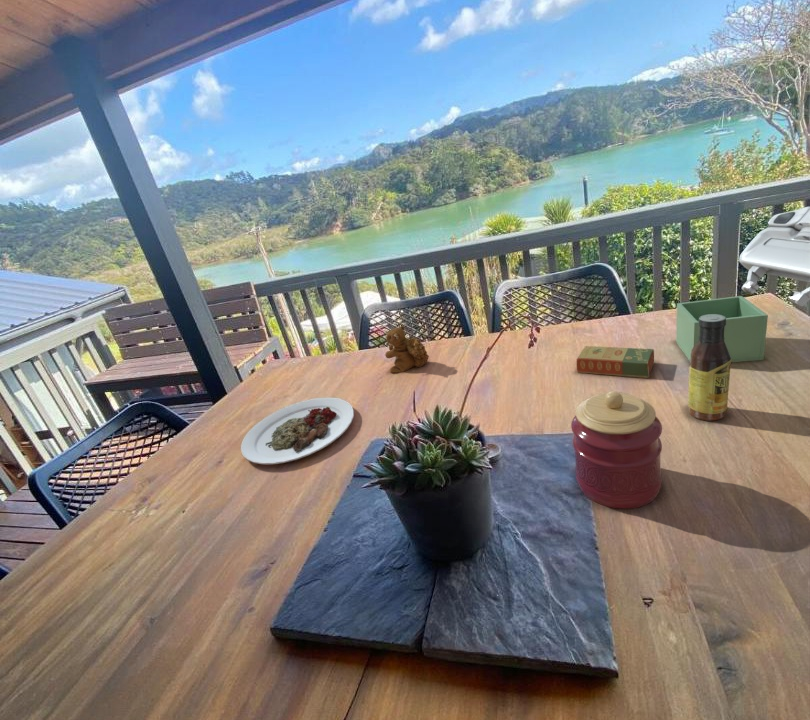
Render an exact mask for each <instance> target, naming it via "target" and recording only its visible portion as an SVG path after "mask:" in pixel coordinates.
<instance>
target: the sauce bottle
mask: <svg viewBox="0 0 810 720" xmlns="http://www.w3.org/2000/svg"><path fill="white" fill-rule="evenodd" d="M725 325H726V317H725V316H722V315H718V314H708V315H703V316H701V317H699V327H700V328H699V337H698V339H699V341H698V342H697V344H696V345H694V347H693V349H692V350H691V362H690V363H689V373H688V390H687V391H688V393H687V394H688V395H687V406H688V412H689V415H690V416H692V417H693V418H695V419H698V420H702V421H705V422H710V421H717V420H721V419H723V418H724V417H725V416H726V413H727V409H728V402H729V392H730V391H729V389H730V379H731V378H730V377H731V363H732V362H731V357H730V354H729V352H728V349H727V347H726V344H725V341H724V327H725Z"/></svg>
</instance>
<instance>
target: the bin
mask: <svg viewBox="0 0 810 720" xmlns="http://www.w3.org/2000/svg"><path fill="white" fill-rule="evenodd" d="M708 314H718V315H722V316H725V317H726V325H725V327H724V341H725V344H726V347H727V349H728V352H729V354H730V357H731V363H740V362H749V361H750V362H751V361H753V362H754V361H763V360H764V359H765V357H764V356H765V348H766V338H767V327H768V320H769V319H768V318H769V315H768V314H767V313H766V312H765V311H763V310H761V309H760V308H759V307H758V306H756V305H755V304H753V303H752V302H751V301H749V300H748V299H747V298H745V297H744V296H742V295H737V296H729V297H720V298H719V297H718V298H712V299H704V300H695V301H686V302H677V303H676V331H675V332H676V335H675V338H676V339H675V343H676V344H677V345H678V347H679V348H680V350H681V351H682V353H683V354H684V355H685V357H686V358H687V359H688V361H689V362H690V363H691V350H692V349H693V347H694V345H696V344H697V342H698V341H699V339H698V337H699V328H700V327H699V317H701V316H703V315H708Z"/></svg>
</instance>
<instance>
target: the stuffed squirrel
mask: <svg viewBox="0 0 810 720" xmlns="http://www.w3.org/2000/svg"><path fill="white" fill-rule="evenodd" d="M388 344H389V346H388ZM385 346H388V350H387V351H386V352H385V354H384V356H385V358H386V359H392V358H394V362H393V366H391V367H390V369H389V372H390V373H392V374H395V373H404V372H407V371H409V370H411V369H412V368H422V367H423V366H424V365H425V364H426V363H428V361H429V357H430V355H428V352H427V350H426V347H425V345H424V344H423V343H422V342H421V341H420V340H419V339H418V337H410V338H409V339H407V337H406V334H405V326H404V325H401V326H399V327H394V328H391V329H390V330H389V331H388V332H387V333H386V335H385Z"/></svg>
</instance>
